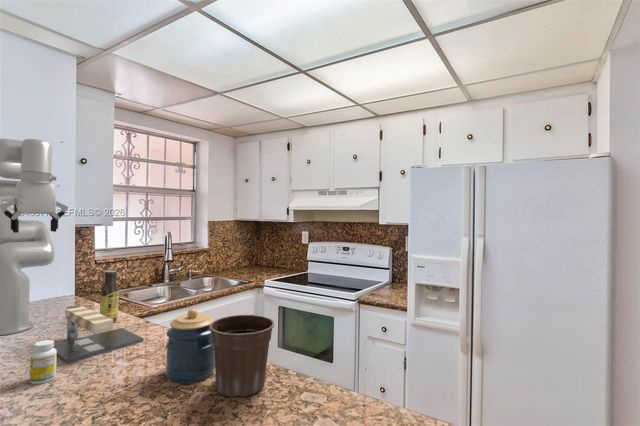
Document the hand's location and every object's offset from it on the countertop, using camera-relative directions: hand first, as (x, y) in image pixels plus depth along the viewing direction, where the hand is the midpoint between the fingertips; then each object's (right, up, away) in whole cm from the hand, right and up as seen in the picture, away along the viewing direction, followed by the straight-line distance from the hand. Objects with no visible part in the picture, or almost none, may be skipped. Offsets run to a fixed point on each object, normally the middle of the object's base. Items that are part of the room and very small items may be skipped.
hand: (35, 231), depth 111 cm
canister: (+56, -38, -15) cm, 69 cm away
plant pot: (+71, -39, -21) cm, 84 cm away
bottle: (+8, -37, +26) cm, 46 cm away
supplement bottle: (+20, -38, -21) cm, 47 cm away
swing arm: (+16, -29, 0) cm, 33 cm away
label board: (+17, -37, +3) cm, 41 cm away
